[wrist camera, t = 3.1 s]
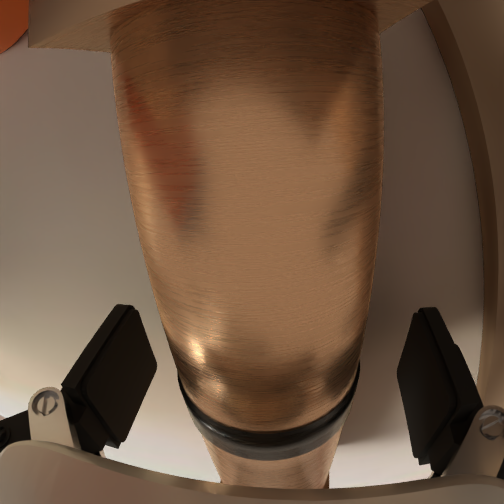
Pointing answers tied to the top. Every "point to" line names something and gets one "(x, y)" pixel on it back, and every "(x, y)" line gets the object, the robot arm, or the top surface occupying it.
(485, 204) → the collar board
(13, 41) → the cup with straw
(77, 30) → the copper tube
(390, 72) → the top surface
